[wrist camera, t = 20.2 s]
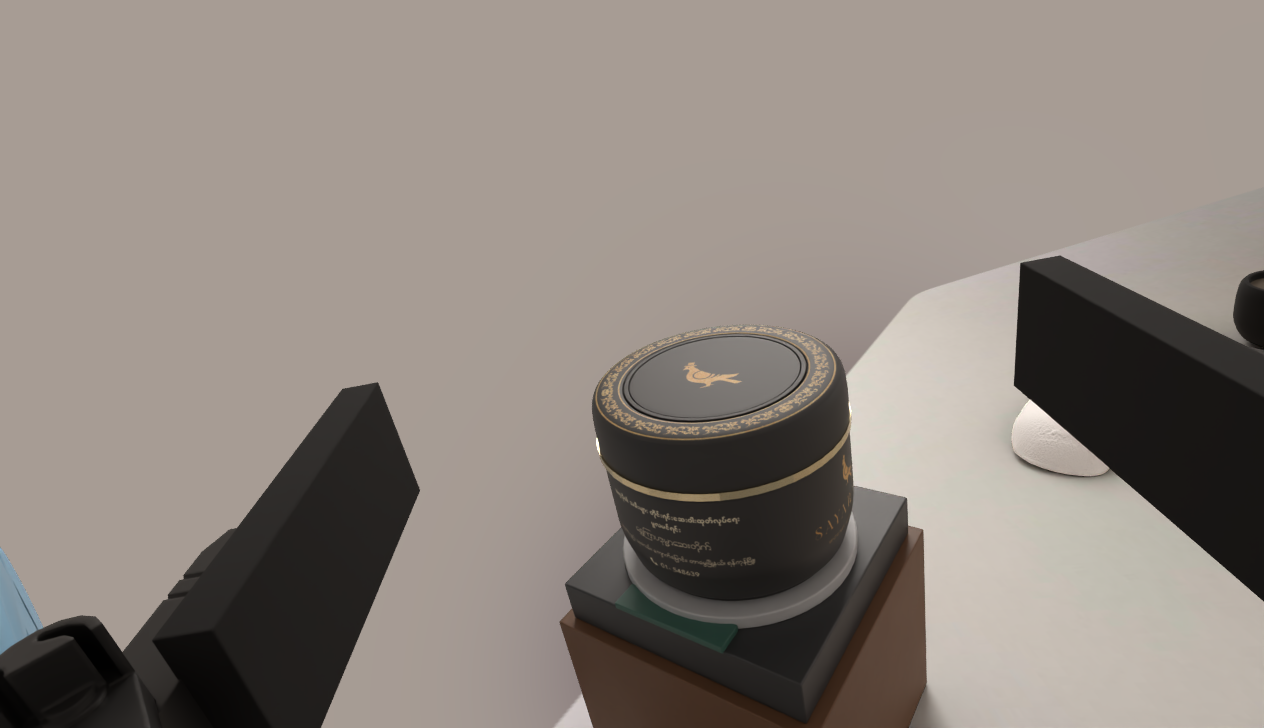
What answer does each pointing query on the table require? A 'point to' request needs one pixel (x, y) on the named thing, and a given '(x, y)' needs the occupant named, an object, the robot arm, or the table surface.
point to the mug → (1250, 308)
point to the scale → (758, 638)
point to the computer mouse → (1051, 445)
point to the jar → (729, 458)
